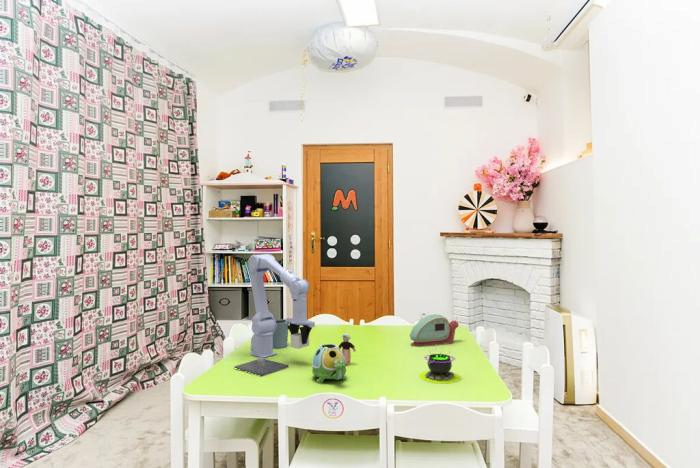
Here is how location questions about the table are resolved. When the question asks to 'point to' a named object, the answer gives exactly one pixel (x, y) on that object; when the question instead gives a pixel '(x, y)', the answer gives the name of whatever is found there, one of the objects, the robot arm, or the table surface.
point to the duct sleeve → (298, 341)
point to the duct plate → (261, 366)
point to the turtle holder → (329, 363)
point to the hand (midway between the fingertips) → (299, 342)
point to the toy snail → (433, 331)
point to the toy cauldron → (439, 369)
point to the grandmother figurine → (346, 348)
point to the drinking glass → (280, 334)
